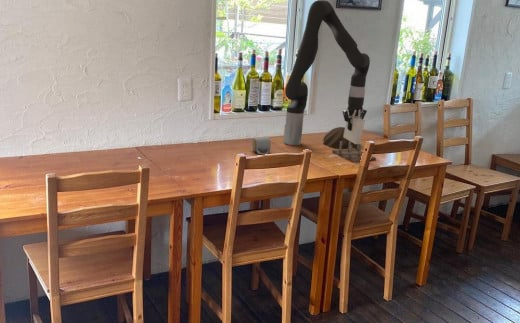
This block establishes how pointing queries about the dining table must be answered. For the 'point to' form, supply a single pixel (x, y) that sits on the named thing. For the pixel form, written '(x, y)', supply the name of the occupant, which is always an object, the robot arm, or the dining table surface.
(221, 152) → the dining table surface
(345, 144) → the decorative dome
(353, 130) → the cream tile
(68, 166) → the dining table surface
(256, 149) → the ceramic mug
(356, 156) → the dish rack
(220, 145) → the dining table surface
